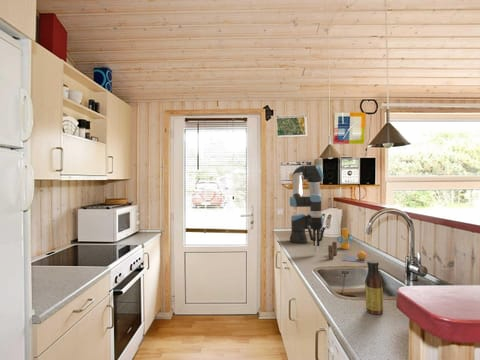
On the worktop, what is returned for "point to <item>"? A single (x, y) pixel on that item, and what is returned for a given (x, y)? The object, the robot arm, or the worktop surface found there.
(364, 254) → the ball
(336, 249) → the post
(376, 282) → the sauce bottle
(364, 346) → the worktop surface
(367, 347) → the worktop surface
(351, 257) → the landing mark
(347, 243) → the orange blue column
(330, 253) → the post
